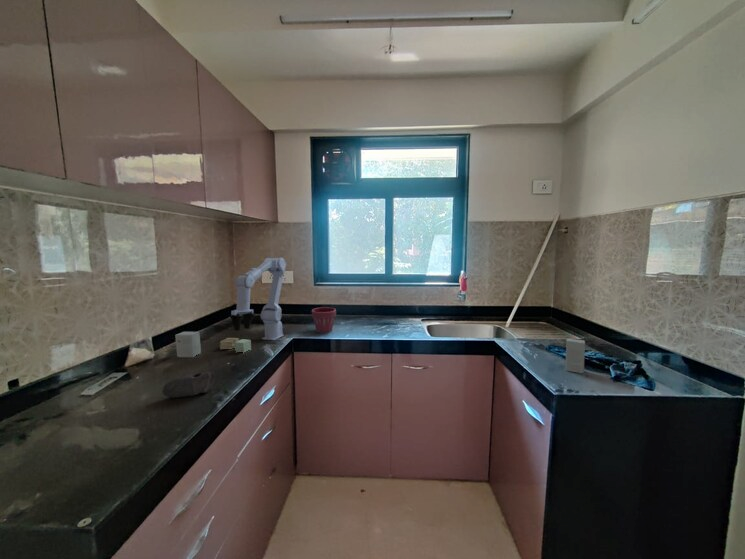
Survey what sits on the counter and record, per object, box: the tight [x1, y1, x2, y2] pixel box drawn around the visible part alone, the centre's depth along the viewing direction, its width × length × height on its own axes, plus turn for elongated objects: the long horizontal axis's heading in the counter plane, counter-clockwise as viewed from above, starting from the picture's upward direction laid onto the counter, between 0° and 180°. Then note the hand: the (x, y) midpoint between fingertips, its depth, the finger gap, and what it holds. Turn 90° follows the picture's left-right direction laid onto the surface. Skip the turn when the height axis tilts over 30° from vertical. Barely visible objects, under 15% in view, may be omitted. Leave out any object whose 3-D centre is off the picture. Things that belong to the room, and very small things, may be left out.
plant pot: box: [311, 306, 337, 334], centre depth 177 cm, size 14×14×13 cm
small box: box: [174, 331, 202, 358], centre depth 138 cm, size 8×6×10 cm
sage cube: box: [234, 338, 252, 354], centre depth 143 cm, size 5×5×5 cm
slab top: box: [219, 337, 240, 346], centre depth 149 cm, size 6×6×2 cm
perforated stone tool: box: [162, 371, 215, 399], centre depth 100 cm, size 15×5×7 cm, turn 111°
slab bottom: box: [219, 345, 235, 350], centre depth 149 cm, size 6×6×2 cm
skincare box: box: [564, 338, 586, 374], centre depth 117 cm, size 6×4×12 cm
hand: (241, 329), depth 142 cm, fingers open, 7 cm apart
